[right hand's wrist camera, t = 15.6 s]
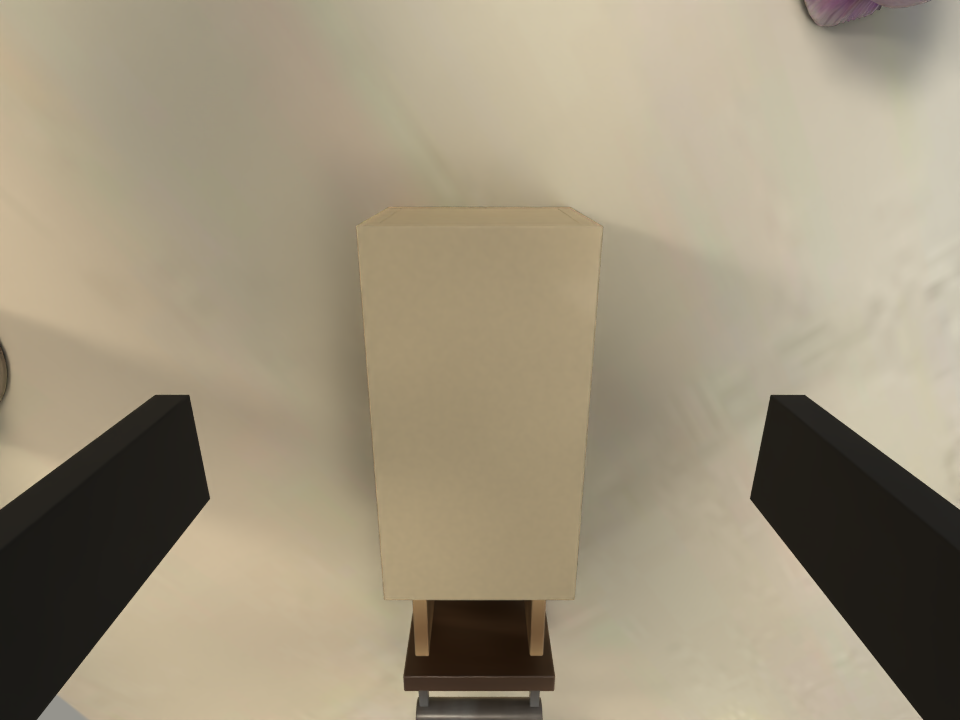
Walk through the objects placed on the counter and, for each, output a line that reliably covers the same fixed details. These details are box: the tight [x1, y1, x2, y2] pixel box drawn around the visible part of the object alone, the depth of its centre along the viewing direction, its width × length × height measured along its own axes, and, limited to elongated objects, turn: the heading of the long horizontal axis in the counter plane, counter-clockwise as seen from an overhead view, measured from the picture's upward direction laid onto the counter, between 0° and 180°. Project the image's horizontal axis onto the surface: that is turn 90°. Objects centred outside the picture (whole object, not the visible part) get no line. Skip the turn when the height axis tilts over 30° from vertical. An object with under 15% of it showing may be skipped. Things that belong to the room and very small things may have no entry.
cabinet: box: [356, 207, 603, 600], centre depth 30 cm, size 20×10×9 cm, turn 0°
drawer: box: [403, 600, 555, 720], centre depth 34 cm, size 24×9×7 cm, turn 0°
